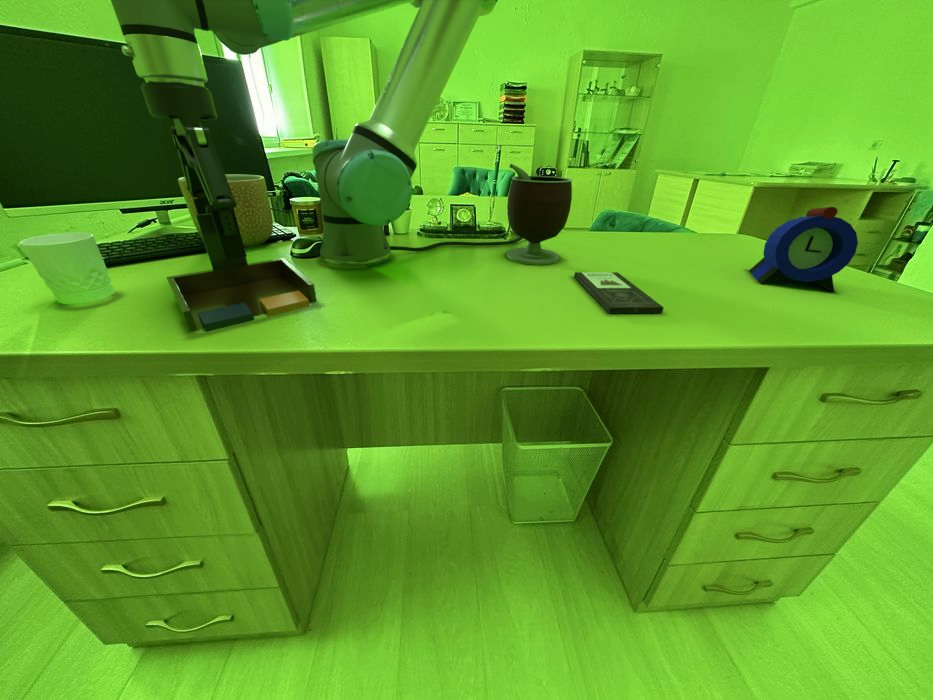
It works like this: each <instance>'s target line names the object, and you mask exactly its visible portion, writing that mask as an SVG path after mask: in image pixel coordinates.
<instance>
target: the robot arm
mask: <svg viewBox="0 0 933 700" xmlns="http://www.w3.org/2000/svg"><path fill="white" fill-rule="evenodd" d="M110 2H111V5H112V8H113V11H114V13H115V16H116V19H117V22H118V25H119V27H120V31H121V34H122V35H123V37H124V41H125V43H126V45H124V44H123V45H121V52H122V54H123V55H125V56H126V57H132V58H133V59H132V60H131V62H132V65H133V67H134V70H135V73H136V75H137V76H138V77H139V78H141V79H142V80H143V79H144V82H142V83H141V85H140V89H141V93H142V95H143V98H144V100H145V104H146V107H147V110H148V113H149V114H150V115H151V116H152V117H153V118H155V119H161V120H162V119H163V120H173V122H174V126H170V132H171V134H172V141H173V143H174V146H175V148H176V150H177V153H178V157H179V161H180V164H181V168H182V172H183V177H185V180H186V184H187V190H188V191H189V192H190V194H191V196H192V197H193V198H196V199H193V201H194V204H195V207H196V210H197V213H198V214H204V213H211V214H212V218H213V221H214V224H215V227H216V231H217V234H218V237H219V240H220V244H221V247H222V250H223V253H224V257H225V259H226V260H227V259H234V258H240V257H246V258H247V252H246V249H245V248H244V244H243V241H242V237H241V234H240V230H239V226H238V223H237V219H236V216H235V212H234V207H236V201H235V200H234V197H233V194H232V192H231V189H230V186H229V184H228V181H227V178H226V176H225V174H226V173H225V171H224V167H223V165H222V162H221V160H220V157H219V154H218V151H217V148H216V146H215V142H214V140H213V134H212V133H213V132H212V130H211V129H210V127H208V126H203V125H202V123H201V121H215V120H217V119H218V114H217V111H216V106H215V102H214V99H213V95H212V92H211V90H209V88H208V87H206V86H205V84H207V82H209V79H208V76H207V71H206V68H205V65H204V60H203V56H202V52H201V49H200V45H199V44H198V40H197V37H196V34H195V29H196V30H201V31H206V32H212V33H213V35H214V36H215V38H216V39H217V40H218V42H219V43H220V44H221V45H222V46H223V47H225V48H226V49H227V50H228V51H230V52H232V53H234V54H237V55H242V56H245V55H253V54H255V53H257V52H258V50H260V49H261V48H266V47H268V46H272V45H275V44H278V43H280V42H282V41H284V42H285V41H286V42H287V41H290V40H291V39H293V38H296V37H300V36H303V35H306V34H309V33H313V32H316V31H319V30H323V29H326V28H330V27H333V26H336V25H339V24H343V23H346V22H349V21H353V20H356V19H359V18H363V17H366V16H369V15H373V14H376V13H380V12H383V11H386V10H390V9H393V8H396V7H399V6H402V5H403V6H404V5H406V4H410V5H411V6H412V7H413V8H415V9H418V10H417V12H416V14H415V17H414V19H413V21H412V23H411V26H410V28H409V30H408V33H407V34H406V37H405V39H404V41H403V44H402V46H401V48H400V50H399V52H398V55H397V57H396V59H395V61H394V63H393V66H392V68H391V70H390V72H389V74H388V77H387V78H386V81H385V84H384V86H383V87H382V90H381V92H380V95H379V96H378V99H377V101H376V104H375V105H374V107H373V110H372V112H371V114H370V117H369V119H368V120H366V121H362V122H361V121H360V122H357V123H355V125H354V128H353V129H352V132H351V134H350V136H349V138H347V139H330V140H320V141H318V142H316V143H314V144H313V146H312V163H313V166H314V170H315V171H314V172H315V177H316V178H315V179H316V184H317V189H318V195H319V201H320V207H321V214H322V218H323V219H322V220H323V229H322V237H321V242H320V251H319V255H320V260H321V261H323V262H324V263H326V264H331V265H335V266H348V267H349V266H350V267H351V266H352V267H353V266H366V267H368V268H371V267H376V266H380V265H383V264H385V263H388V262H389V261H390V260H392V251H403V252H404V251H405V252H415V253H416V252H425V251H429V250H432V249H435V248H439V247H444V246H469V247H489V246H491V247H493V246H494V247H495V246H507V245H513V244H514V245H515V244H516V243H518V242H520V241H522V240H524V239H523V238H522V237H520V236H517V238H515V239H511V240H504V241H502V240H501V241H440V242H436V243H432V244H429V245H425V246H422V247H421V246H419V247H410V246H399V245H398V246H397V245H390V244H389V242H388V238H387V236H386V233H385V232H384V229H383V226H384V225H388V224H391V223H394V222H396V221H397V220H398V219H400V218H401V217H402V216H403V215H404V214H405V213H406V211H407V209H408V208H409V206H410V204H411V200H412V198H413V183H412V177H413V175H414V173H415V171H416V169H417V167H418V161H417V157H416V154H415V151H416V148H417V146H418V144H419V142H420V140H421V137H422V136H423V133H424V131H425V130H426V127H427V125H428V123H429V121H430V120H431V117H432V115H433V113H434V110H435V109H436V107H437V104H438V102H439V100H440V98H441V96H442V94H443V92H444V90H445V88H446V86H447V84H448V82H449V80H450V78H451V75H452V73H453V71H454V69H455V67H456V65H457V63H458V62H459V59H460V57H461V55H462V53H463V50H464V48H465V46H466V44H467V42H468V41H469V38H470V36H471V34H472V32H473V29H474V28H475V26H476V23H477V21H478V20H479V17H484V16H488V15H490V14H491V13H492V12H493V11H494V8H495V6H496V4H497V3H498V0H110Z"/></svg>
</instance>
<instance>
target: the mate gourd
mask: <svg viewBox="0 0 933 700" xmlns="http://www.w3.org/2000/svg"><path fill="white" fill-rule="evenodd" d="M509 169H512V170H514V172H515V173H516V174H517V175H516V176H512V177H511V182H510V185H509V190H508V194H507V207H506V211H507V220H508V226H509V227H510V229H511V230H512V232H513V233H514V235H516V236H517V237H522V238H523V239H522V240H525V241H526V242H528V243H527V245H526V247H517V248H512V249H509V250H508V251H507V254H506V257H507V258H508V259H509V260H511V261H512V262H513V261H514V262H516V263H521V264H525V265H535V266H537V265H540V266H541V265H551V264H554V263H557V262H559V260H560V254H559V253H557V252H555V251H553V250H550V249H546V248H542V245H541V243H542V242H545V241H547V240H551V239H554V238H556V237H557V236H558V235H559V234H560V233H561V232H562V231H563V229H564V228H565V227H566V224H567V222H568V219H569V216H570V212H571V206H572V200H573V185H572V181H573V179H571V178H567V177H563V176H561V177H560V176H550V175H549V176H548V175H529V174H528V173H527V172H526V171H525V170H524V169H522V168H521V167H519V166H517V165H516V164H514V163H510V164H509Z"/></svg>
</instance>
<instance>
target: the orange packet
mask: <svg viewBox="0 0 933 700" xmlns="http://www.w3.org/2000/svg"><path fill="white" fill-rule="evenodd" d="M259 301H260V305H261V307H262V308H263V309H264V311H265V312H266V313H267V314H266V315H268V317H273V316H276V315H280V314H284V313H289V312H292V311H297V310H302V309H304V308H305V309H306V308H308V307H310V303H309V300H308V299H307V298H306V297H305V296H304V295H303V294H302V293H301V292H300V291H294V292H289V293H285V294H280V295H276V296H271V297H266V298H262V299H259Z"/></svg>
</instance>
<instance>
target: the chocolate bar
mask: <svg viewBox="0 0 933 700" xmlns="http://www.w3.org/2000/svg"><path fill="white" fill-rule="evenodd" d="M573 278H575V279H576V281H577V282H578V283H579V284H580V285H581V286H582V287H583V288H584V289H585V290H586V291H587V292H588V293H589V294H590V295H591V296H592V297H593V299H594V300H595V301H596V302H598V303H599V305H601V306H602V307H603V309H605V311H606V312H607V313H608V314H651V313H652V314H663V311H664V306H663V305H662V304H660V303H659V302H658V301H656V300H655V299H653V298H652V297H651V296H649V295H648V294H647V293H646V292H644V291H643V290H641V288H639V287H638V286H637V285H635V284H633V283H632V282H631V281H630V280H628V279H627V278H626V277H624V276H623V275H621V274H620V273H619V272H617V271H615V272H614V271H613V272H607V271H604V272H603V271H601V272H600V271H595V272H594V271H591V272H589V271H587V272H586V271H581V272H580V271H578V272H577V271H575V272H574V275H573Z"/></svg>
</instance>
